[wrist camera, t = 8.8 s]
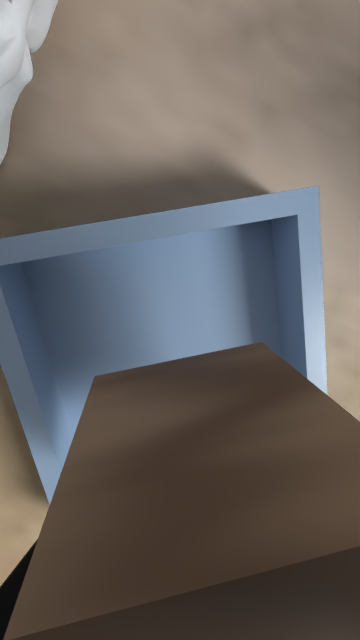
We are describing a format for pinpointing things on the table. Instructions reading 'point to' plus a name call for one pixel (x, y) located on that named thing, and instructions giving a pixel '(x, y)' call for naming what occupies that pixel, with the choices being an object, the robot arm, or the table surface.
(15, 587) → the robot arm
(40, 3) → the skull bowl
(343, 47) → the table surface
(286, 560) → the block
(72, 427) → the tray
